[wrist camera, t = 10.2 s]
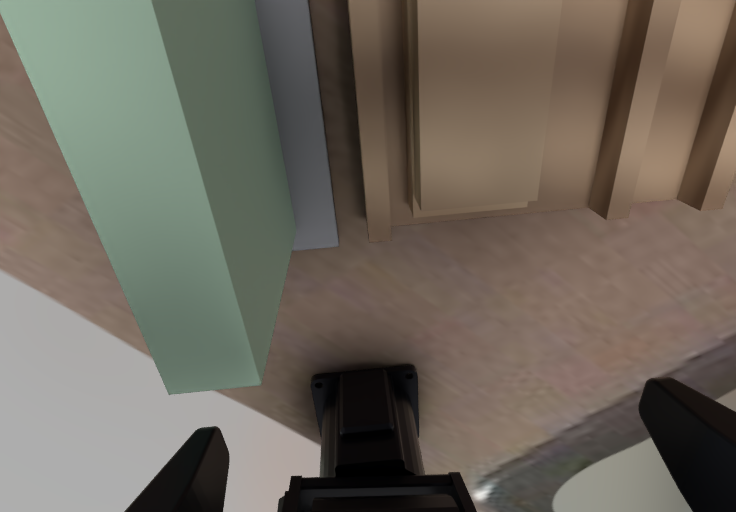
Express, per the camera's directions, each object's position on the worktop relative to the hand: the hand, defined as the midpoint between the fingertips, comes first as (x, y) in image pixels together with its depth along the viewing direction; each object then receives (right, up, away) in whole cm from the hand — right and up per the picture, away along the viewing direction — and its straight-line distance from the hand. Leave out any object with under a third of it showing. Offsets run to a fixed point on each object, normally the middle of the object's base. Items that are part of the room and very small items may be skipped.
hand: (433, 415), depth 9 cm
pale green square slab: (-6, +9, +9) cm, 14 cm away
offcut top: (+3, +10, +7) cm, 12 cm away
